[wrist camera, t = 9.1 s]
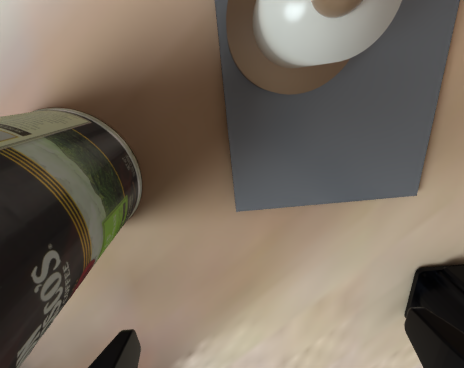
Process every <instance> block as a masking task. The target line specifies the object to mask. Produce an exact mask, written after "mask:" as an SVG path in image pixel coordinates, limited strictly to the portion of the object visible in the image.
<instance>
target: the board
mask: <svg viewBox="0 0 464 368" xmlns="http://www.w3.org/2000/svg"><path fill="white" fill-rule="evenodd" d="M459 2H460V0H402V2H401V4H400V7H399V9H398V11H397V13H396V15H395V17H394V18H393V20H392V22H391V23H390V25H389V26H388V28H387V29H386V30H385V31H384V33H383V34H382V35H381V36H380V37H379V38H378V39H377V40H376V41H375V42H374V43H373V44H372V45H371V46H370V47H368V48H367V49H366V50H364V51H363V52H361V53H359V54H358V55H356V56H354V57H352V58H350V60H349V61H348V63H347V64H346V65H345V66H344V68H343V69H342V70H341V71H340V72H339V73H338V74H337V75H336V76H335V77H333V78H332V79H331V80H330V81H328V82H327V83H325V84H324V85H322V86H320V87H318V88H316V89H314V90H312V91H308V92H305V93H300V94H290V95H287V94H278V93H275V92H271V91H267V90H264V89H262V88H260V87H258V86H256V85H254V84H253V83H251V82H250V81H249V80H248V79H246V77H245V76H244V75H243V74H242V73H241V72H240V70H239V69H238V68H237V66H236V64H235V62H234V61H233V58H232V56H231V53H230V50H229V46H228V40H227V29H226V12H227V3H228V0H215V7H216V17H217V27H218V36H219V46H220V56H221V66H222V76H223V85H224V95H225V105H226V115H227V125H228V135H229V144H230V154H231V164H232V174H233V184H234V194H235V203H236V212H238V211H249V210H260V209H272V208H283V207H294V206H305V205H317V204H328V203H339V202H350V201H361V200H373V199H384V198H395V197H406V196H417V192H418V187H419V183H420V178H421V174H422V169H423V165H424V160H425V156H426V151H427V147H428V142H429V137H430V133H431V128H432V124H433V119H434V115H435V110H436V106H437V101H438V97H439V92H440V88H441V83H442V79H443V74H444V70H445V65H446V60H447V56H448V51H449V47H450V42H451V38H452V33H453V29H454V24H455V20H456V15H457V11H458V6H459Z"/></svg>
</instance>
